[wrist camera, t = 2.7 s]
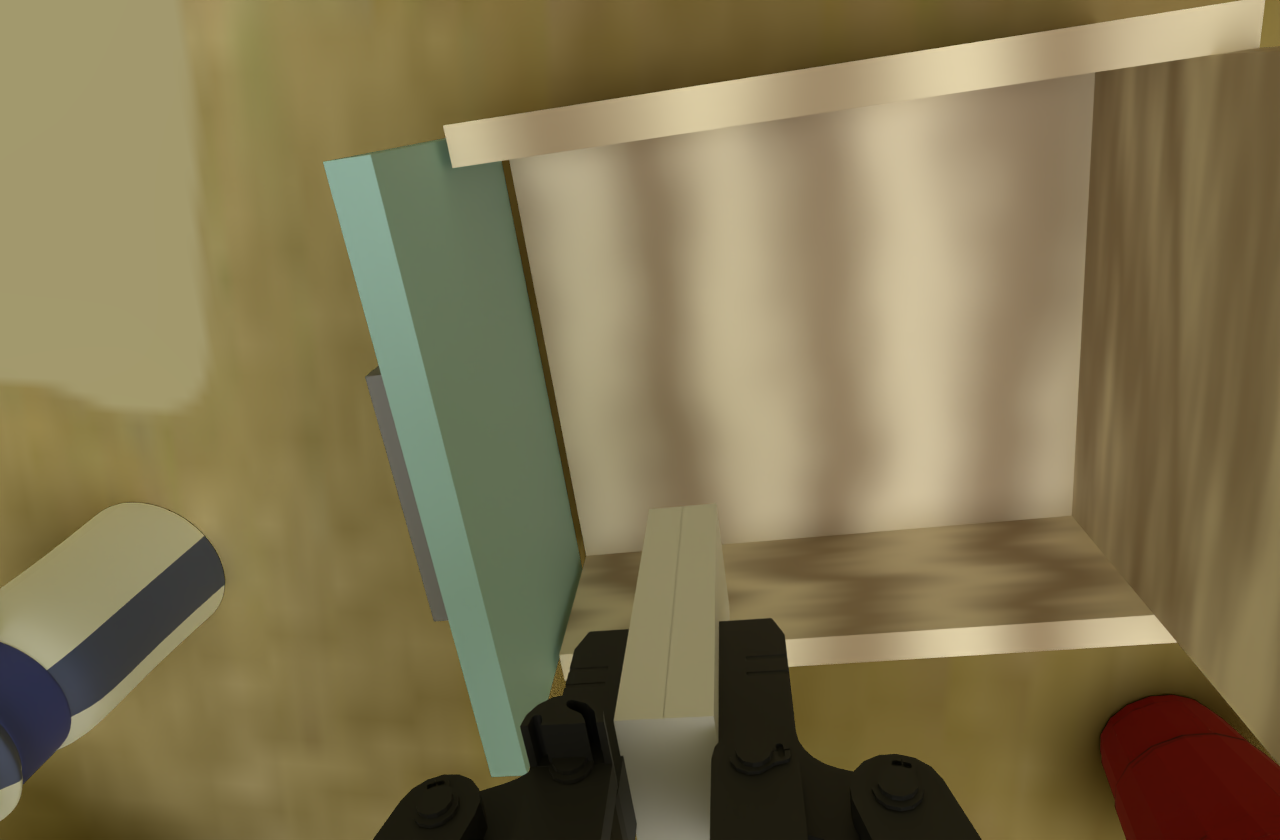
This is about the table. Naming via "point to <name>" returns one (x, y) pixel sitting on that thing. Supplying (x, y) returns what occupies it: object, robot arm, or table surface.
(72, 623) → the blue-banded white tube
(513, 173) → the crate
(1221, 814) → the plastic cup
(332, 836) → the table surface
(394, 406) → the teal flat panel
